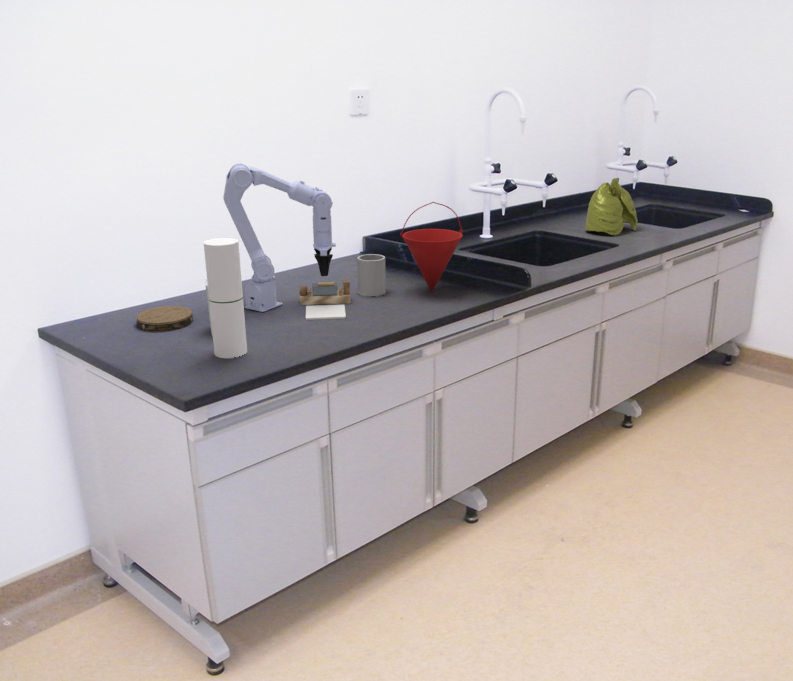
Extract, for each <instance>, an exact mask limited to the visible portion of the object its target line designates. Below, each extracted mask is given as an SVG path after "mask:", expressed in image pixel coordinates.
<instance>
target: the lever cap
mask: <svg viewBox="0 0 793 681" xmlns="http://www.w3.org/2000/svg"><path fill="white" fill-rule="evenodd" d="M338 291H339V287H338V283H337V282H335V281H324V282H323V281H322V282H321V281H319V282H318V283H312V284H311V292H312V296H332V295H338Z"/></svg>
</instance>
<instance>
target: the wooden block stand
mask: <svg viewBox="0 0 793 681" xmlns="http://www.w3.org/2000/svg"><path fill="white" fill-rule="evenodd" d="M350 284H351V282H350V279H343V280H342V286H338V295H332V296H312V287H308V286H307V285H302V286H301V285H300V286H299V289H298V290H299V291H298V292H299V306H317V305H345V304H351V303H352V301H351V288H350V287H351V285H350Z"/></svg>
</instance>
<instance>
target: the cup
mask: <svg viewBox="0 0 793 681" xmlns="http://www.w3.org/2000/svg"><path fill="white" fill-rule="evenodd" d="M356 258H357V260H356V261H357V293H359V294H360V295H359V294H358V295H359V296H363V297H367V296H369V297H370V296H376V297H381V296H384V295H385V294H386V291H387V289H386V285H387V284H386V256H385V255H382V254H378V253H377V254H374V253H368V254H362V255H361V254H360V255H358V256H357V257H356ZM383 294H384V295H383ZM380 295H381V296H380Z"/></svg>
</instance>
